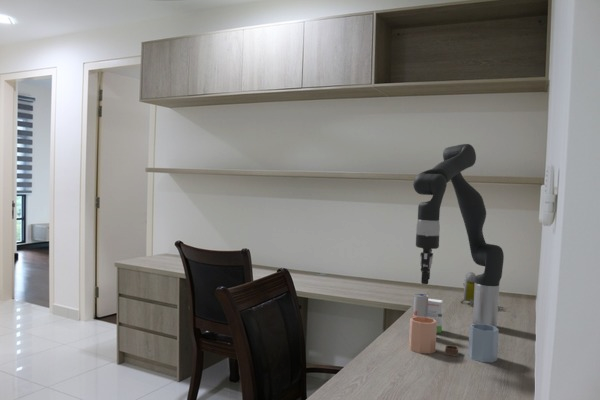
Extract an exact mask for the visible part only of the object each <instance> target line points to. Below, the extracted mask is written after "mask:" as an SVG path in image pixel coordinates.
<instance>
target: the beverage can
mask: <svg viewBox="0 0 600 400" xmlns="http://www.w3.org/2000/svg"><path fill="white" fill-rule="evenodd" d="M428 299H429V294H428V295H427V294H425V293H424V294H423V293H415V294H414V295H413V314H412V317H415V316H418V317H427V314H428Z"/></svg>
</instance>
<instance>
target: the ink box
mask: <svg viewBox="0 0 600 400" xmlns="http://www.w3.org/2000/svg"><path fill="white" fill-rule="evenodd" d="M443 304H444V300H442V299H441V300H440V299H435V298H428V314H427V317H428V318H432V319H435V320H436V321H437V330H436V334H437V333H438V334H441V333H442V329H443V312H444V311H443V308H444V307H443V306H444V305H443Z"/></svg>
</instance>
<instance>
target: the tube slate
mask: <svg viewBox="0 0 600 400" xmlns="http://www.w3.org/2000/svg"><path fill="white" fill-rule="evenodd" d="M468 333H469V335H468V351H467V353H468V354H467V356H468V357H469V358H470V359H471V360H473V361H474V360H475V361H477V362H481V363H492V364H493V363H494V362H496V361H498V353H499V350H498V349H499V333H500V329H499V328H498V327H497V328H496V327H495V326H491V325H487V324H473V323H472V324H470V325H469V332H468Z"/></svg>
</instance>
